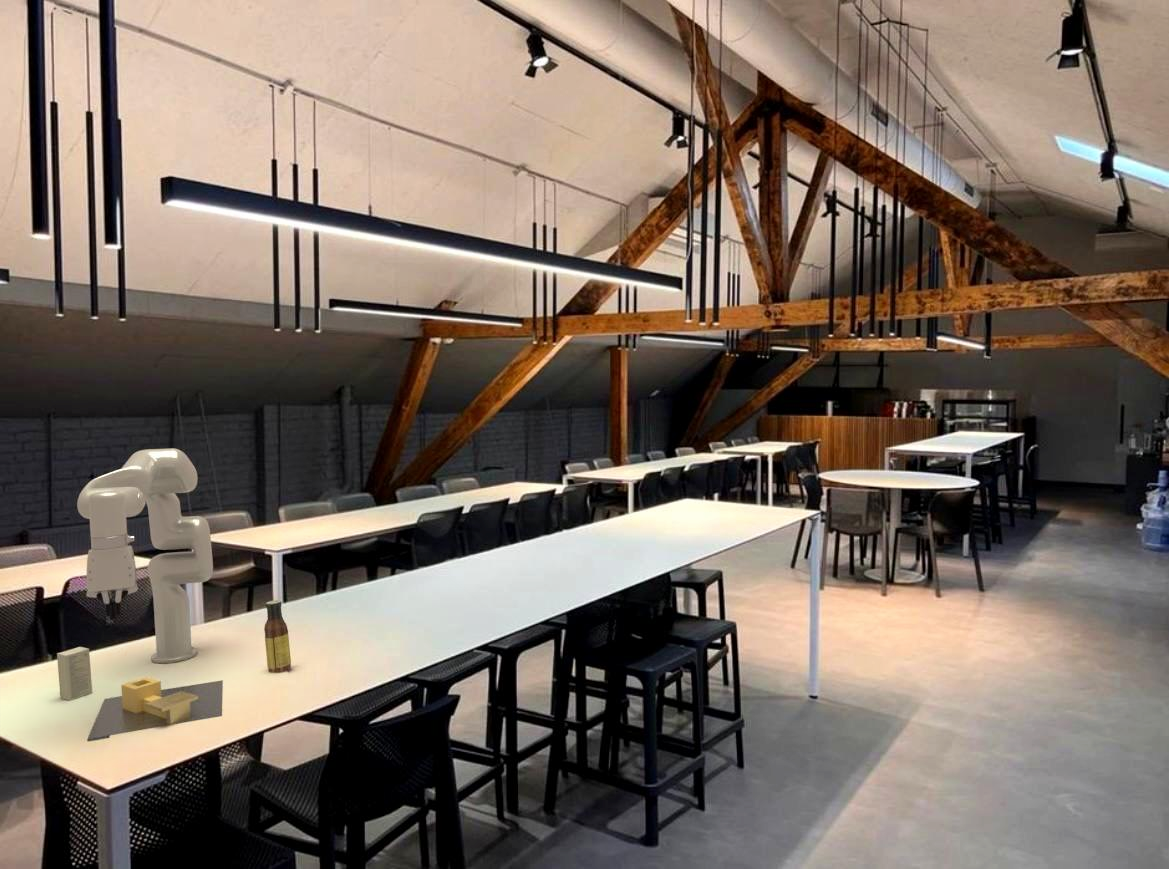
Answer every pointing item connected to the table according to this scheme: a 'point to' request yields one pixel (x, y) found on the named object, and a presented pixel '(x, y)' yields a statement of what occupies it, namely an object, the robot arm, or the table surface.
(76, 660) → the skincare box
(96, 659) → the table surface
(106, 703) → the pintle board
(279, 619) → the sauce bottle
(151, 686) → the link
